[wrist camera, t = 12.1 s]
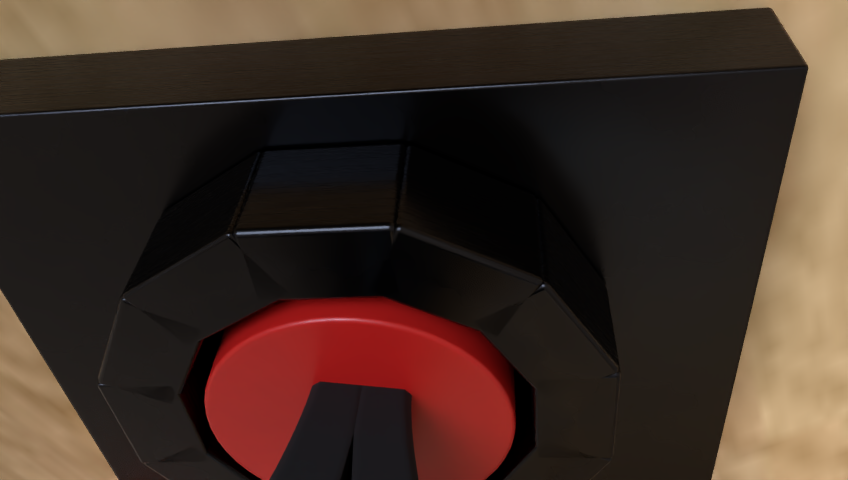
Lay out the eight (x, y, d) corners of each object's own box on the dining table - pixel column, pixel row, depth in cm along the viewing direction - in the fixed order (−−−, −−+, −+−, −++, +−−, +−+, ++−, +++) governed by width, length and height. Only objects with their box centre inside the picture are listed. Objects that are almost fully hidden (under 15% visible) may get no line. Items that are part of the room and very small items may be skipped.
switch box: (147, 420, 18) (89, 569, 15) (-44, 61, 12) (-191, 202, 10) (693, 412, 17) (733, 574, 14) (772, 5, 11) (864, 150, 8)
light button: (267, 426, 15) (246, 511, 13) (197, 237, 12) (161, 324, 10) (516, 423, 14) (519, 511, 13) (508, 225, 11) (511, 314, 10)
